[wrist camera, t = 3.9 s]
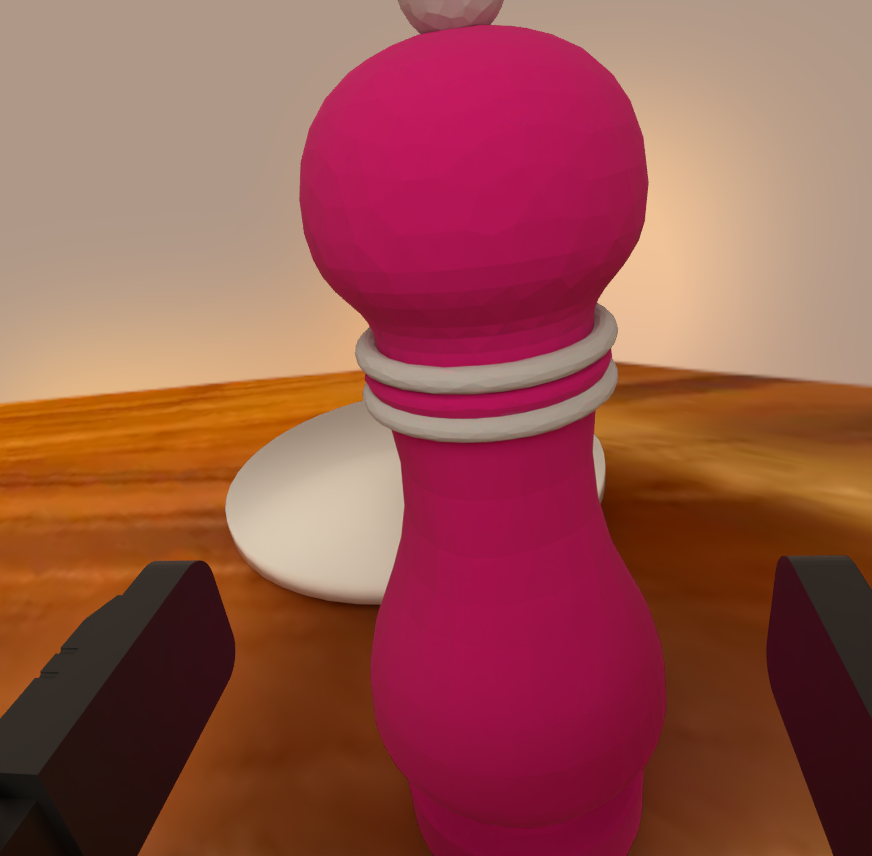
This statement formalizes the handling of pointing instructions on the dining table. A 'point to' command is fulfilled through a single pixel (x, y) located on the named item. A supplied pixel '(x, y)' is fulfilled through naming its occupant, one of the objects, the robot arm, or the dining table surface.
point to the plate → (328, 507)
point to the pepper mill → (494, 422)
